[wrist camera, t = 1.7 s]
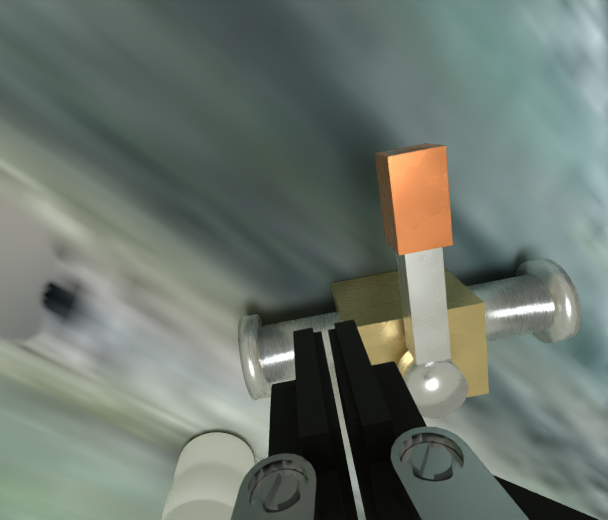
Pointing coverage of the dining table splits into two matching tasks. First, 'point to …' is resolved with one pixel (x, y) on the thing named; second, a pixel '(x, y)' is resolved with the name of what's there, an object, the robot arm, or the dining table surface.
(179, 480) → the water bottle
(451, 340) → the valve pipe
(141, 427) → the dining table surface
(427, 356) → the valve lever
